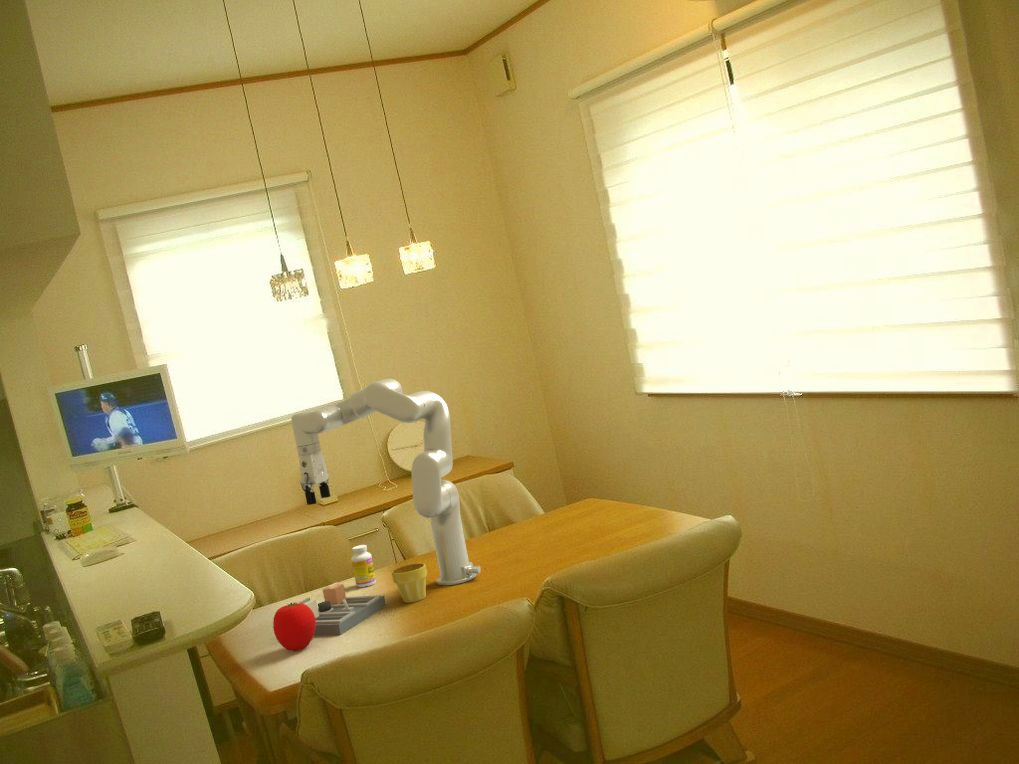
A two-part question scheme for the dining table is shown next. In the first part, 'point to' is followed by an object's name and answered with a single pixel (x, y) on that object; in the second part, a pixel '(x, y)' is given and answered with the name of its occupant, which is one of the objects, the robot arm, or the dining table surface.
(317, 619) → the grey slotted tray
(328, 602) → the black button
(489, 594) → the dining table surface
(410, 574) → the plant pot
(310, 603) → the cream slider
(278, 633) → the tomato
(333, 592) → the salmon pink block
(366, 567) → the supplement bottle
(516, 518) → the dining table surface
